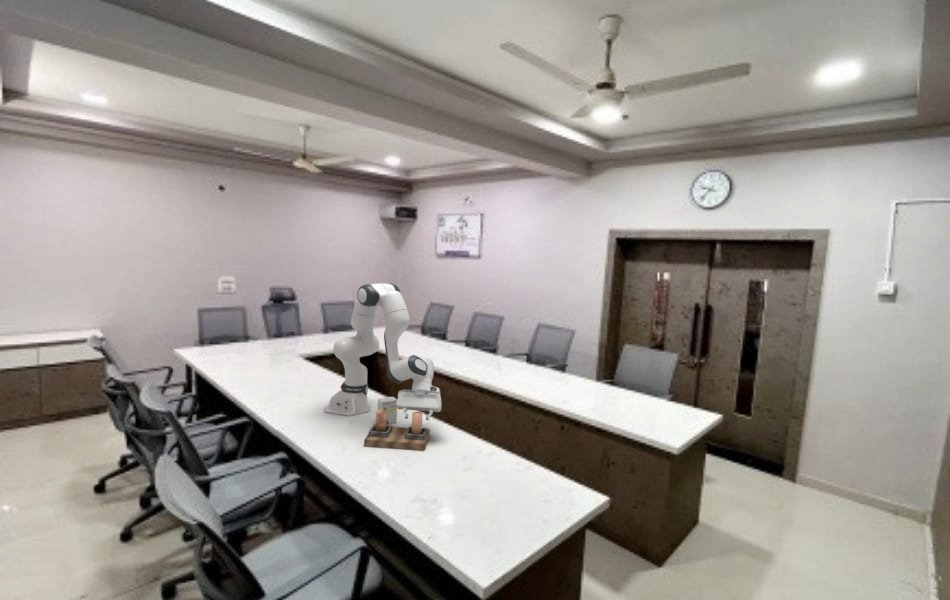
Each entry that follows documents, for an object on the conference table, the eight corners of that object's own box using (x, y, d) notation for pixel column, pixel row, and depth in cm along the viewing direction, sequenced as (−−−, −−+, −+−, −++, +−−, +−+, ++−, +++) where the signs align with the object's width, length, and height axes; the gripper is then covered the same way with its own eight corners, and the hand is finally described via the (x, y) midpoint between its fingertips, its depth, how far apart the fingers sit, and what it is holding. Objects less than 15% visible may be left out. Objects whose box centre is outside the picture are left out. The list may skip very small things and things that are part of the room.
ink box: (380, 425, 216) (381, 401, 215) (376, 422, 220) (377, 398, 219) (396, 422, 222) (397, 399, 220) (392, 419, 226) (393, 396, 224)
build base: (364, 446, 193) (364, 416, 192) (374, 431, 209) (375, 404, 208) (424, 450, 192) (425, 421, 191) (429, 435, 208) (431, 408, 207)
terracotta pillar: (410, 437, 198) (411, 415, 197) (412, 433, 202) (412, 411, 201) (420, 437, 198) (421, 415, 197) (422, 433, 202) (423, 412, 201)
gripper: (398, 385, 205) (392, 414, 197) (442, 388, 204) (439, 417, 196) (399, 392, 210) (394, 420, 202) (443, 395, 209) (439, 423, 201)
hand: (416, 418), depth 199 cm, fingers open, 8 cm apart
